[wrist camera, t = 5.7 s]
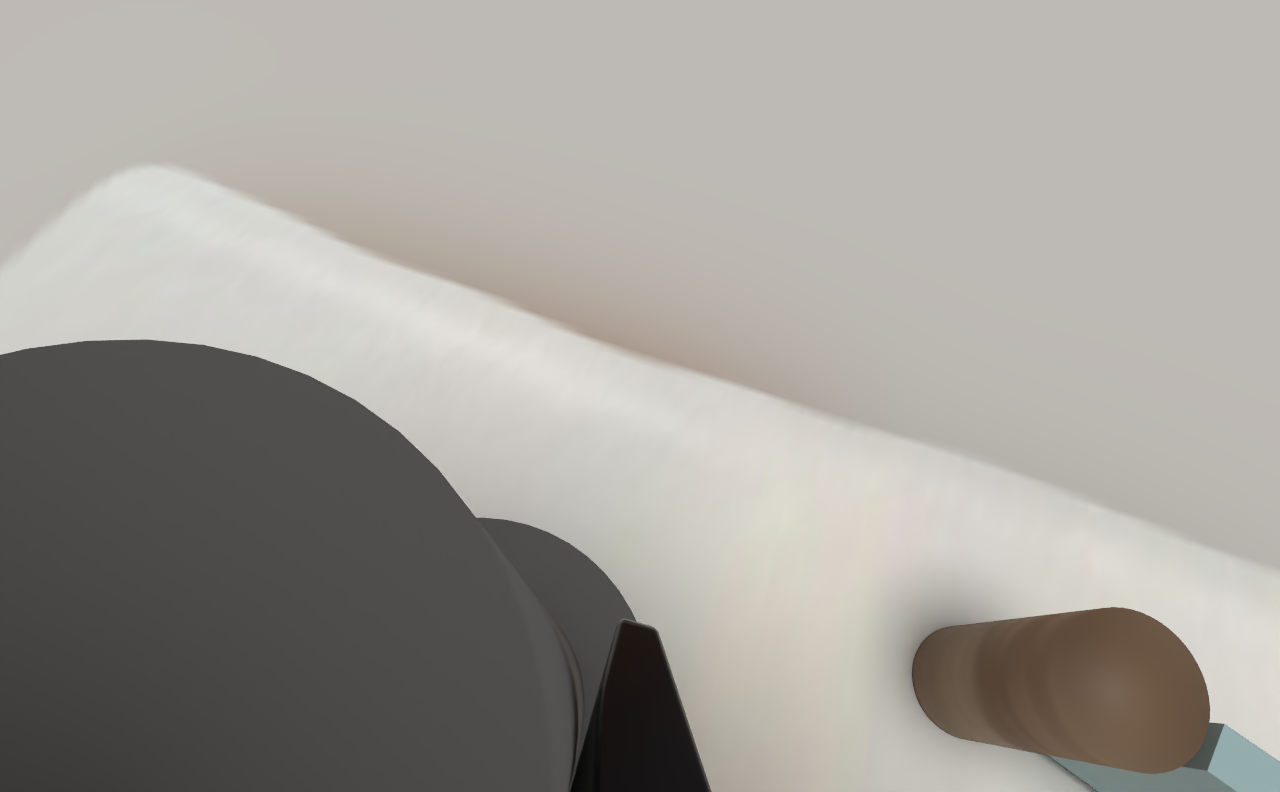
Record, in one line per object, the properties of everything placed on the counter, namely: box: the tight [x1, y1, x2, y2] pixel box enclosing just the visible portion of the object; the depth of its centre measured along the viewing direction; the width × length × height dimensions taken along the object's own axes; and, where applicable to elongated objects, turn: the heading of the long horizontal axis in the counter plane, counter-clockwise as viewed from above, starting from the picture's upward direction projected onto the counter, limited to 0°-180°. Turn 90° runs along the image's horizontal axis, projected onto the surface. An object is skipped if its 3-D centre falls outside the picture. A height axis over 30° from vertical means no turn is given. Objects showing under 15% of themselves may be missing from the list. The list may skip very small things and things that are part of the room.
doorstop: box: [0, 340, 636, 792], centre depth 9 cm, size 6×6×13 cm
